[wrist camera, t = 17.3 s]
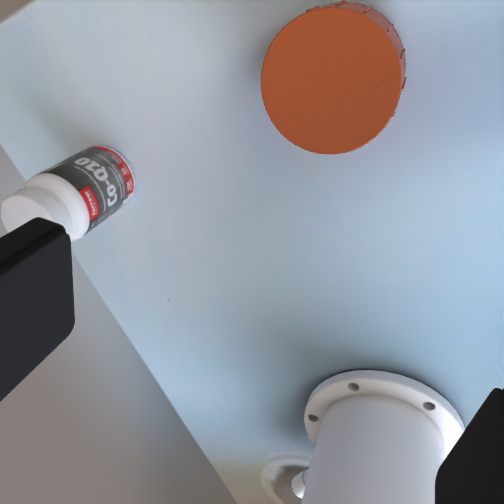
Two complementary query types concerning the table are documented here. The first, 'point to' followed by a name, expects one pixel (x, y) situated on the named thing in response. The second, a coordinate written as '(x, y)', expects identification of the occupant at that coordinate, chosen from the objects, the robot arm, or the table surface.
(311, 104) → the thermos lid
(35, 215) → the pill bottle
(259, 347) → the table surface
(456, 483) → the robot arm
